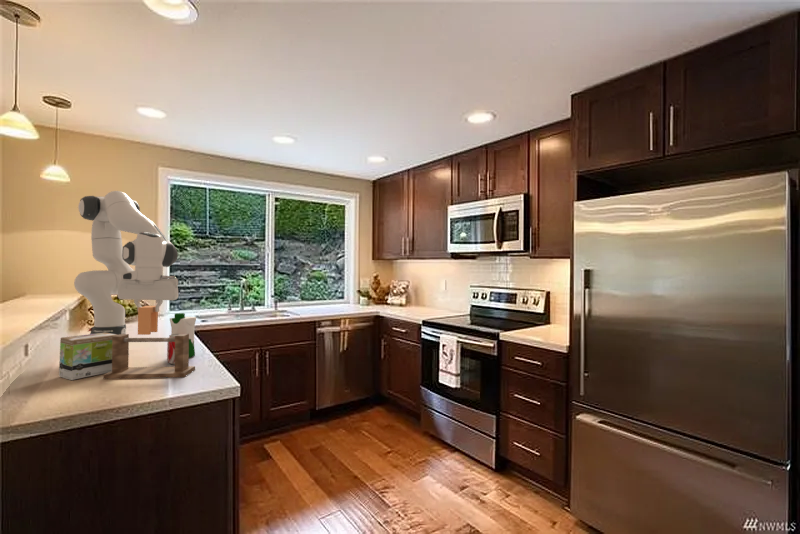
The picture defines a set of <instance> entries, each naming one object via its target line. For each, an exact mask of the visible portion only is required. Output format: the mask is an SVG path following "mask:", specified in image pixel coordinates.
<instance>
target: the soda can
mask: <svg viewBox="0 0 800 534" xmlns="http://www.w3.org/2000/svg"><path fill="white" fill-rule="evenodd" d="M177 335H179V334H172V335H171V334H170V335H169V336H168V338H175V336H177ZM166 343H167V345H166V346H167V347H166V350H167V351H166V355H167V356H166V357H167V359H166V360H167V363H169V364H170V365H175V342H166Z"/></svg>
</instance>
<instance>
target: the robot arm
mask: <svg viewBox="0 0 800 534" xmlns="http://www.w3.org/2000/svg"><path fill="white" fill-rule="evenodd" d="M77 208H78V212H79V214H80V216H81V217H82V219H84V220H88V221H91V222H92V224H91V232H90V233H91V236H90V237H91V239H90V240H91V249H92V250H91V251H92V257H93V258H94V259H95V261H96V262H99V263H101V264H103V265H104V266H105V267H106V268H107V269H106V270H101V269H100V270H96V269H95V270H87V271H83V272H79V273H78V275H76V277H75V279H74V284H73V286H74V288H75V290H76V292H77V293H79V294H80V295H82V296H83V297H84V298H86V299H87V301H89V303H90V305H91V306H92V309H93V316H94V317H93V318H94V320H93V322H94V324H93V325H94V326H92V327H90V328H88V329H87V332H89V334H97V333H111V334H116V335H119V334H127V325H126V309H125V307H124V306H123V305H122V304H120V303H118V302H115V301H114V300H113V298H112V295H117V298H118V299H119V300H133V303H134V305H135V306H136V308H137V312H138V308H139V307H143V306H142V304H141V303H142V301H143V300H144V301H155V303H156V305H155V306H156V307H153V312H158V313H159V312H160V307H161V306H162V304H163V302H164V301H175V300H176V301H177V299H178V298H179V288H178V286H179V279H178V278H177V277H176V276H175V275H163V274H164V273H163V272H164V267H165V268H168V267H171V266H172V265H173V264H175V263H176V261H177V260H178V257H179V256H178V253H179V252H178V250H177V248H176V246H175V245H174V244H173V243H172V242H171V241H170V240H169V239H167V237H166V236H165V234H164V233H163V232H162V231H161V229H160V228H159V227H158V226H157V225H156V223H155V222H154V221H153V220H151V219H150V218H148V217H147V216H146V215H144V214H143V213H142V212H141V209H140V205H139V203H138V202H137V201H136V200H133V199H132V198H131V197H130V196H129V195H128V194H127V193H125V192H123V191H121V190H112V191H110V192H107V193H106V195H105V196H95V195H86V196H83V197H82V198H80V200H79V203H78V207H77ZM121 231H122V232H127V233H131V234H136V235H137V236H136V238H135V239H134V240H131V241H127V242H126V243H125V244H124V245H123V237H122V232H121ZM131 266H135V267H134V268H132V267H131Z"/></svg>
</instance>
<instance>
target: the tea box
mask: <svg viewBox="0 0 800 534" xmlns="http://www.w3.org/2000/svg"><path fill="white" fill-rule="evenodd" d="M113 336H116V334H111V333H97V334H90V333H89V334H81V335H80V334H79V335H73V336H72V335H71V336H66V337H65V336H64V337H60V340H59V341H60V343H59V344H60V345H59V364H58V365H59V367H58V368H59V369H58V376H59V377H61V378H62V379H66V380H69V381H75V380H78V379H82V378H88V377H94V376H98V375H104V374H106V373H108V372H111V371H112V337H113Z"/></svg>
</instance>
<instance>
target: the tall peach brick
mask: <svg viewBox="0 0 800 534" xmlns="http://www.w3.org/2000/svg"><path fill="white" fill-rule="evenodd" d="M153 307H156V305H145V306H144V305H143V306H142V307H139V308H138V311H137V335H140V336H141V335H142V336H143V335H144V336H145V335H151V333H157V332H158V328H159V327H158V323H159V322H158V321H159V318H158V317H159V312H153Z"/></svg>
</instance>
